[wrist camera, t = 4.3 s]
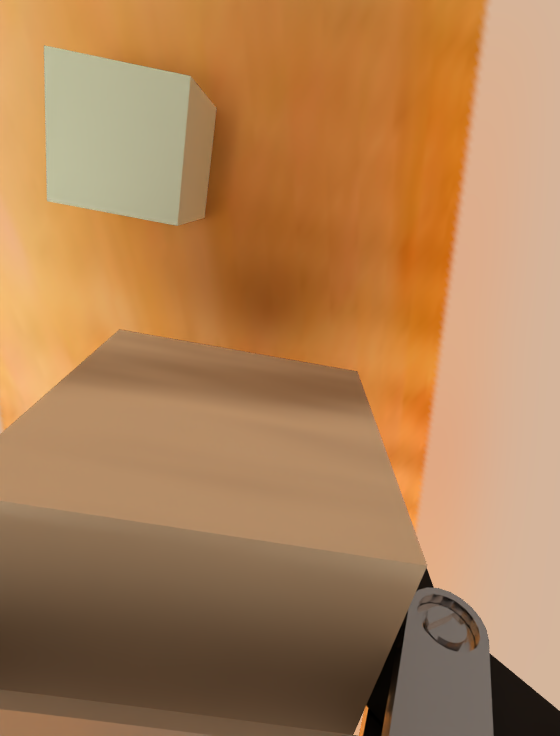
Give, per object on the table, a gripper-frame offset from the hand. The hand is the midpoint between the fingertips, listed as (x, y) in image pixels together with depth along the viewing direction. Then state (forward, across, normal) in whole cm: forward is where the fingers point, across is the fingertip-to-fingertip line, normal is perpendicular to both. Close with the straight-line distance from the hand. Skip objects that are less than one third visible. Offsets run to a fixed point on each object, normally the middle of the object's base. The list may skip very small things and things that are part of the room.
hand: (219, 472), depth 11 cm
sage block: (+15, +6, -7) cm, 17 cm away
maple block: (+1, 0, 0) cm, 1 cm away
